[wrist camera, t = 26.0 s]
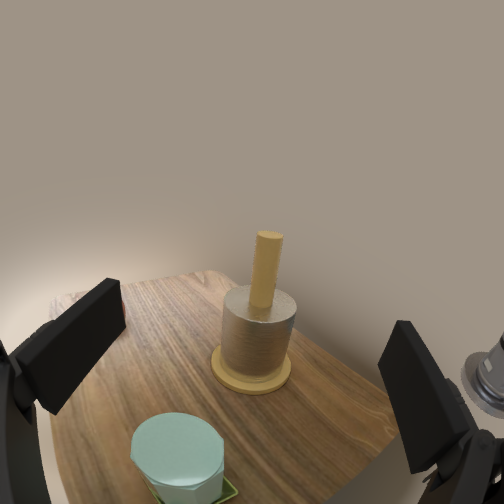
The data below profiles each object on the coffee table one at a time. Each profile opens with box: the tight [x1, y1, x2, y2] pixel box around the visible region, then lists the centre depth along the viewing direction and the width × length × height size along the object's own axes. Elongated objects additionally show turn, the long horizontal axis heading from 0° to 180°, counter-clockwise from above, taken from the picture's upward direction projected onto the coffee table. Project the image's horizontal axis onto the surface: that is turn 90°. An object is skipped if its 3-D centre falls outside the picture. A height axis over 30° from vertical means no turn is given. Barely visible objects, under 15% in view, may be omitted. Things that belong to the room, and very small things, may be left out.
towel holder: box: [211, 231, 297, 395], centre depth 41 cm, size 14×14×24 cm
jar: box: [130, 413, 224, 504], centre depth 19 cm, size 8×8×10 cm
